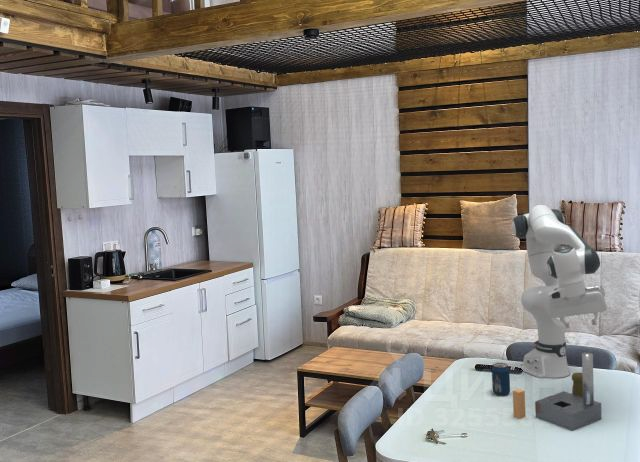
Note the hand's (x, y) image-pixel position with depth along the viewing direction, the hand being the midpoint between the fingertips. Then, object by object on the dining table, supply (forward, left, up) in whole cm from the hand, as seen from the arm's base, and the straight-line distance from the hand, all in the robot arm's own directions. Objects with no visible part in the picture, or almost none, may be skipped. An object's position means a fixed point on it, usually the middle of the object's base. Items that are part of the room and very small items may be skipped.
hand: (581, 326), depth 239 cm
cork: (-7, +7, -33) cm, 34 cm away
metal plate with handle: (+1, -10, -32) cm, 34 cm away
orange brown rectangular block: (-11, -22, -32) cm, 40 cm away
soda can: (-32, -9, -33) cm, 47 cm away
